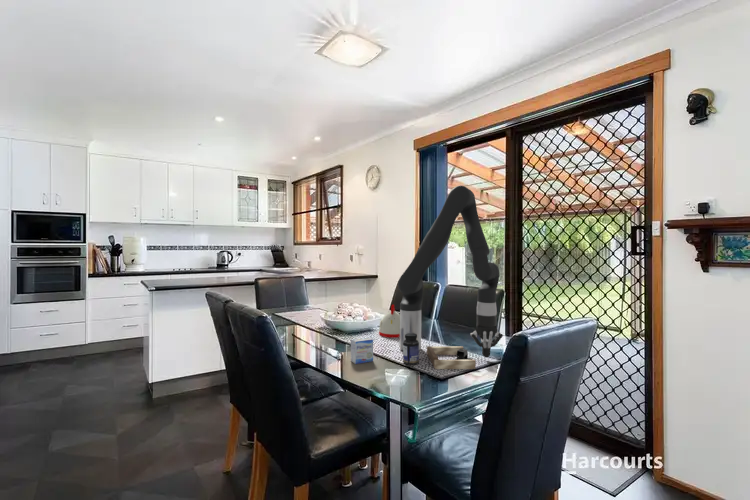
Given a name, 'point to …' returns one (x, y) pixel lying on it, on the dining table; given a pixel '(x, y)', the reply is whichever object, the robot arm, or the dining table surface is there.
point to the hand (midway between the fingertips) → (486, 356)
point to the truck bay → (448, 364)
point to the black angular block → (462, 355)
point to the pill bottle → (411, 349)
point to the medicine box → (361, 350)
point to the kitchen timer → (390, 324)
